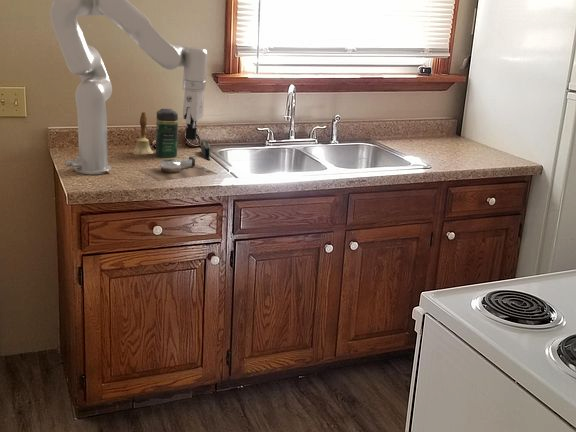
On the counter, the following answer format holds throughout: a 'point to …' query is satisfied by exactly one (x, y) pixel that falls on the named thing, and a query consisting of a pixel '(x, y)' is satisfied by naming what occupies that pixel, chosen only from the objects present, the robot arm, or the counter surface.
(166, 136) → the coffee jar
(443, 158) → the counter surface
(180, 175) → the level board
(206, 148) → the dark green box
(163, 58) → the robot arm
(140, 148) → the hand bell
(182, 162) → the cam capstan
